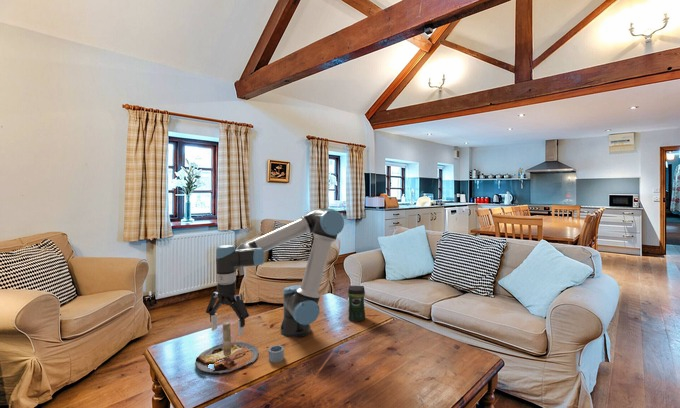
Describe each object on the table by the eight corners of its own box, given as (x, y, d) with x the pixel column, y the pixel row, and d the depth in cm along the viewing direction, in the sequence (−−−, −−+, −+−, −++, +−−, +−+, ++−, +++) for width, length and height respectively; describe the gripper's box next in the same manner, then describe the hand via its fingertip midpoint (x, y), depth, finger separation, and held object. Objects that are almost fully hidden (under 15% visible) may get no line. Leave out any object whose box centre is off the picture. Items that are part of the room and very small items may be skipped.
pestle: (226, 351, 135) (226, 322, 134) (232, 352, 134) (231, 323, 133) (222, 355, 132) (221, 325, 131) (227, 356, 131) (227, 326, 130)
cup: (273, 355, 136) (273, 344, 136) (286, 357, 134) (286, 346, 134) (265, 362, 130) (265, 351, 130) (278, 365, 128) (278, 353, 128)
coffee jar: (365, 316, 178) (365, 284, 177) (365, 322, 170) (365, 288, 169) (348, 315, 179) (348, 283, 178) (347, 321, 171) (347, 287, 170)
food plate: (210, 384, 116) (210, 375, 116) (186, 361, 132) (186, 353, 132) (268, 360, 134) (268, 351, 134) (240, 342, 150) (240, 335, 150)
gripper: (196, 282, 132) (197, 331, 133) (245, 287, 124) (246, 340, 125) (208, 277, 139) (210, 324, 140) (256, 282, 131) (257, 332, 132)
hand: (227, 331), depth 133 cm, fingers open, 13 cm apart
